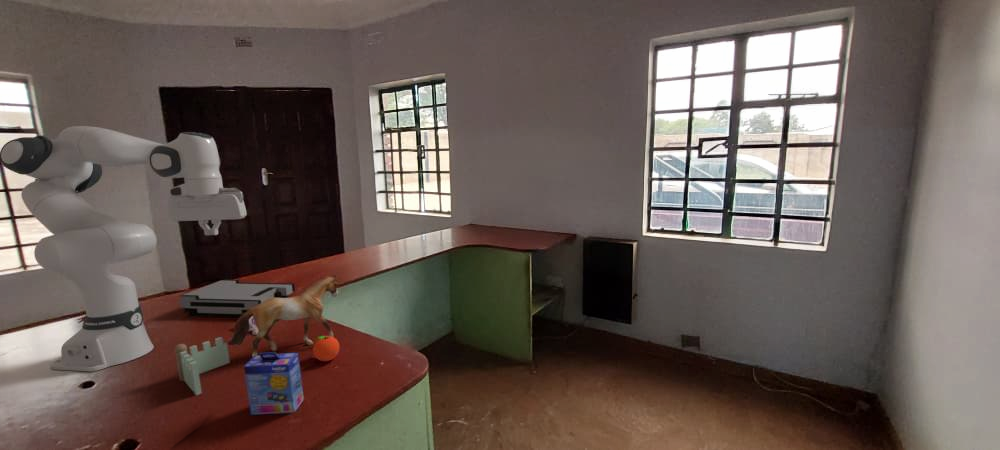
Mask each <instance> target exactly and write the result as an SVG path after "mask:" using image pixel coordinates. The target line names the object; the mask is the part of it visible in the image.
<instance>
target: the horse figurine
mask: <svg viewBox="0 0 1000 450" xmlns="http://www.w3.org/2000/svg"><path fill="white" fill-rule="evenodd" d="M339 276H340V275H336V274H333V275H331V276H330V275H325V276H322V277H321V278H319V279H317V280H315V281H314V282H313V283H312V284H310V285H309V286H308V287H306V288H304V290H302V291H301V292H300V293H299V294H297V295H294V296H292V297H286V298H275V297H273V298H270V299H267V300H265V301H264V302H262V303H260V304H259V305H257V306H256V307H253V308H251V309H249V310H248V311H246V312H245V313H244V314H243V315H241V316H240V317H238V319H237V320H236V323H235V325H234V326H233V335H232V338H231V339H230V340H229V341H227V346H234V345H237V346H241V345H242V344H243V342H244V341H245V339H246V337H247V335H248V333H249V332H248V330H249V319H250V318H251V317H252V316H253V319H254V322H255V325H256V327H257V328H258V334H257V336H256V335H255V337H254V339H253V340H252V346H253V347H252V354H251V357H252V358H253V357H254V356H255V355H258V346H259V344H260V342H261V340H262V339H265V340H266V341H267V342H268V344H269V345H270V346H271V347H270V348H271V349H270V350H271V351H272V352H276V351H277V350H278V346H277V345H276V342H275V341H274V340H273V339H272V338H271V337H270V335H269V333H270V330H272V328H273V327H274V326H275V325H276V323H277V322H279V321H281V320H282V321H294V320H295V321H296V320H301V319H304V324H303V330H304V335H303V340H304V341H306V345H308V346H310V345H311V346H312V345H313V344H314V341H312V340H311V339H309V338H308V332H309V324H310V320H311V318H312V319H314V320H315V321H316V322H318V323H320V324H321V325H323V326H324V327H325V328H326V330H327V332H328V334H329V335H328V336H332V337H334V333H333V331H332V328H331V326H330V324H329V322H328V321H327V320H326V317H325V316H324V315H323V312H324V306H323V302H322V300H323V298H324V295H325V293H326V291H328V292H330V294H331V296H332V297H333V298H336V297H337V296H338V294H339V291H338V288H337V287H338V285H339V283H338V281H337V279H338V277H339Z"/></svg>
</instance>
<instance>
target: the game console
mask: <svg viewBox="0 0 1000 450" xmlns="http://www.w3.org/2000/svg"><path fill="white" fill-rule="evenodd" d="M294 292H296V288H295V283H285V282H284V283H282V282H281V283H280V282H240V280H239V279H229V278H228V279H227V278H226V279H225V278H224V279H221V280H219V281H216V282H213V283H211V284H208V285H205V286H202V287H200V288H198V289H195V290H192V291H189V292H186V293H184V294H181V295H179V296H178V299H179V305H180V309H183V311H184V313H188V315H189V317H213V318H214V317H216V318H218V317H221V318H222V317H223V318H240V316H241V315H243V314H244V313H245V312H246V311H248V310H249V309H251V308H253V307H256V306H257V305H259V304H260V303H262V302H264V301H265V300H267V299H270V298H273V297H275V298H289V295H290V294H293V293H294Z"/></svg>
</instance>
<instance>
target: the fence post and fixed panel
mask: <svg viewBox="0 0 1000 450" xmlns="http://www.w3.org/2000/svg"><path fill="white" fill-rule="evenodd" d="M223 339H224V338H223V336H222V337H221V336H219V337H217V338H214V343H215V345H214V346H211V342H210V340H207V341H204V342H202V349H201V350H198V345H195V344H194V345H191V346H189V347H187V344H185V343H179V344H177V345H176V346H175V347H174V350H173V352H174V354H175V360H176V366H177V371H178V372H177V373H178V378H179V381H180V382H181V381H182V382H183V381H184V375H183V369H182V363H181V355H180V352H183V351H186V352H187V354H189V355H190V358H193V359H194V361H196V362H197V367H198V372H199V375H200V374H203V373H206V372H208V371H211V370H214V369H217V368H219V367H222V366H225V365H228V364H230V356H229V355H230V354H229V349H228V342H224V340H223ZM188 349H189V353H188ZM184 382H185V381H184Z"/></svg>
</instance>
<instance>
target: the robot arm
mask: <svg viewBox="0 0 1000 450" xmlns="http://www.w3.org/2000/svg"><path fill="white" fill-rule="evenodd" d="M216 143H217V142H216V141H215V139H214V137H213V136H211V135H210V134H206V133H204V132H203V133H201V132H195V131H193V132H192V131H182V132H180V133H179V134H178V136H177V138H175V139H173V140H172V141H170V142H166V143H161V142H155V141H153V140H149V139H145V138H142V137H137V136H134V135H131V134H127V133H123V132H120V131H116V130H114V129H113V130H112V129H108V128H103V127H97V126H89V125H78V126H77V125H75V126H68V127H66V128H65V129H62V130H61V132H59V134H58V136H57V137H56V138H54V139H49V138H48V137H47V136H45V135H36V136H34V137H33V136H31V137H30V136H28V137H26V136H24V137H23V136H22V137H17V138H14V139H12V140H9V141H7V142H6V143H5V144H4V145H3V146H2V148H1V150H0V163H1V165H2V166H3V167H4V168H5V169H8V170H9V171H11V172H13V173H17V174H18V175H25V176H27V177H30V178H34V181H31V182H29V183H28V184H26V185H25V186H24V187H23V188H22V190H21V199H22V201H23V204H24V205H25V207H26V209H28V211H29V212H30V213H31V215H32V216H33V217H34V218H35V219H36V220H37V221H38V222H39V223H40V224H42V225H43V226H44V227H45V228H46V229H47V230H48V231H49V232H50V233H51V234H52V235H48V236H46V237H45V236H44V237H42V238H41V239H40V240H39V241H38V242H37V243H36V246H35V247H34V251H33V252H34V258H35V261H36V262H37V264H38V265H39V266H40V267H41V268H43V269H44V270H46V271H48V272H49V273H50V272H51V273H53V274H58V275H60V276H62V277H64V278H66V279H68V280H69V281H71V282H72V283H73V284H74V285H75V286H76V288H77V290H79V293H80V296H81V297H82V298H81V299H82V301H83V305H84V310H85V312H86V315H84V316H82V317H80V318H78V319H76V320H77V324H81V323H82V322H83V323H82V326H81V329H80V330H78V331H77V332H76V333H74V334H73V335H72V336H71V337H70V338H69V339H67V340H66V341H64V343H63V344H62V346H61V351H60V353H61V357H60V358H59V359H57V360H56V361H53V363H51V365H50V369H51V370H59V371H60V370H61V371H62V370H63V371H76V372H97V371H99V370H103V369H105V368H109V367H112V366H115V365H121V364H124V363H127V362H131V361H132V360H136V359H139V358H140V357H142V356H146V355H147V354H149V353H150V352H151V351H152V350H153V349H154V347H155V346H154V345H153V342H152V341H151V339H150V337H149V335H148V332H147V329H146V327H145V324H144V322H143V317H144V314H143V308H142V305H141V304H140V303H139V298H138V293H137V287H136V283H135V282H134V281H133V280H132V279H131V278H130V277H128V276H124V275H120V274H119V275H118V274H113V273H111V272H110V270H109V268H108V265H113V264H116V263H122V262H127V261H131V260H137V259H138V258H141V257H144V256H146V255H148V254H151V253H153V251H154V250H155V249H156V246H157V242H158V241H157V236H156V234H155V231H154V230H153V229H152V228H150V226H149V225H146V224H144V223H135V222H131V221H127V220H123V219H119V218H116V217H113V216H111V215H108V214H105V213H104V212H101V211H99V210H97V209H96V208H94V207H93V205H91V204H90V203H88V202H87V201H86V200H85V199H84V198H83V197H82V196H80V194H79V193H83V192H85V191H87V190H88V189H91V187H93V186H94V185H96V184H97V183H98V182H99V181H100V180H101V178H102V176H103V168H102V167H103V166H108V167H109V166H110V167H123V166H134V165H146V164H147V165H149V166H150V167H151V169H152V170H153V172H154V173H155V174H157V175H158V176H159V177H162V178H168V179H180V178H181V179H182V178H183V181H184V183H182V184H179V185H176V186H172V187H170V188H168V189H167V190H166V193H167V196H168V197H169V198H168V200H167V213H168V216H169V219H170V220H171V221H173V222H191V221H198V225H199V226H200V228H201V229H202V230H203V231H204V232H203V233H204V236H217V235H219V228H220V225H221V224H222V221H224V220H227V221H228V220H241V219H245V217H246V216H247V209H246V204H245V201H244V194H243V192H242V191H241V190H240V189H238V188H237V187H231V188H230V187H229V188H227V187H224V186H223V184H224V183H223V178H222V174H221V171H220V168H221V166H222V165H221V164H222V162H221V161H222V160H221V157H220V155H219V152H218V146H217V144H216ZM209 221H211V224H213V225H212V228H211V227H210V226H209V225H208V223H209Z"/></svg>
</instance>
